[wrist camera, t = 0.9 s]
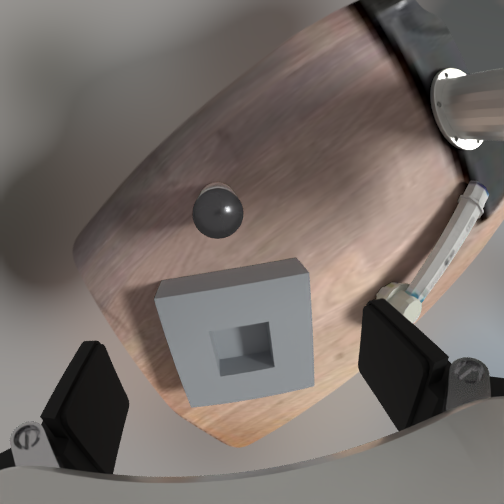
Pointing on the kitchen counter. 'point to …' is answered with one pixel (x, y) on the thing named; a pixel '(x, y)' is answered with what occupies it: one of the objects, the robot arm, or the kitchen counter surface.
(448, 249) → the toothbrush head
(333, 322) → the kitchen counter surface
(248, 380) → the socket block
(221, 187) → the cylinder
